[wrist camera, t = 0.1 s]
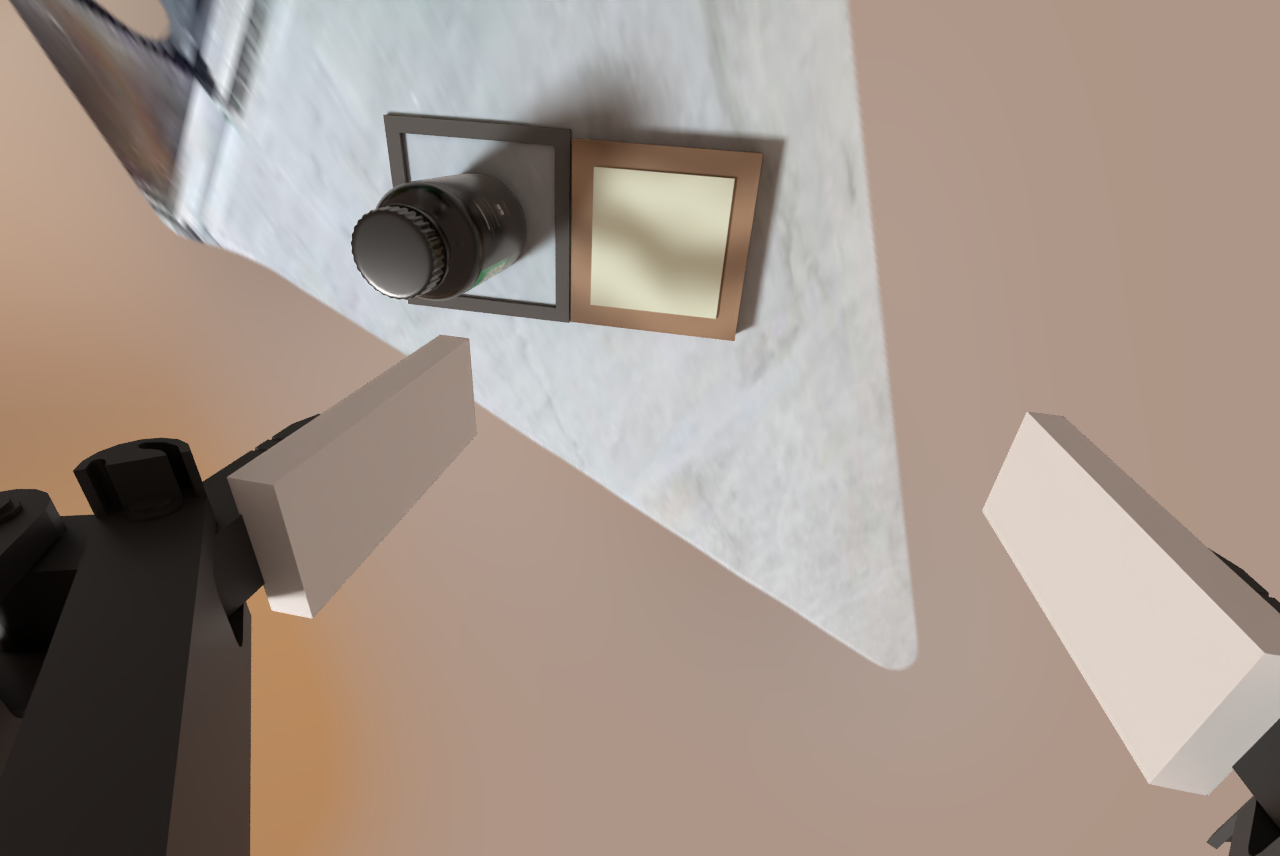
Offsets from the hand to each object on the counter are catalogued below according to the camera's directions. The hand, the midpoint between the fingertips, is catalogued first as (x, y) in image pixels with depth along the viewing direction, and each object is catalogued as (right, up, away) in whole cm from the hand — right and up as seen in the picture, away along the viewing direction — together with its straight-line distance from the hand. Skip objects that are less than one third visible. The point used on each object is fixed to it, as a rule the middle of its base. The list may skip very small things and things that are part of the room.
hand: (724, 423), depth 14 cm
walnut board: (-1, +13, +25) cm, 28 cm away
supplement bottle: (-13, +15, +27) cm, 34 cm away
